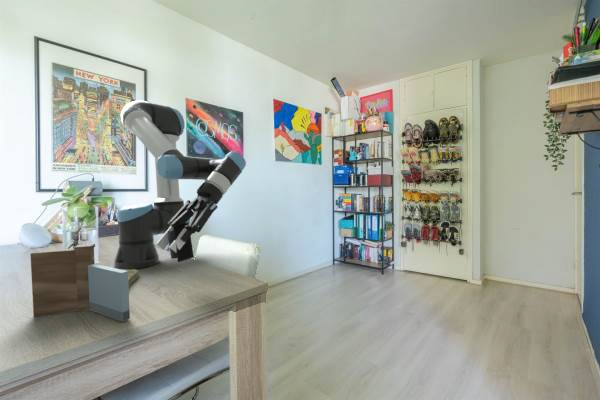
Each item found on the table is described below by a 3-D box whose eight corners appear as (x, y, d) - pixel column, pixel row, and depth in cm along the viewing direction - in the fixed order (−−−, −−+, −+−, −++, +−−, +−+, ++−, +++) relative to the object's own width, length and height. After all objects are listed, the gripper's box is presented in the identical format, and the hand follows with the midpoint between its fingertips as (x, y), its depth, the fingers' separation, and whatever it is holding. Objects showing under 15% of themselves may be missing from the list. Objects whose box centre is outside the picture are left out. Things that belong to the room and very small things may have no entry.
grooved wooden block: (39, 312, 67) (35, 247, 66) (97, 304, 72) (95, 243, 71) (32, 318, 64) (28, 250, 63) (93, 309, 69) (91, 246, 68)
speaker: (198, 257, 80) (194, 221, 80) (178, 262, 76) (173, 225, 76) (187, 255, 85) (183, 222, 85) (168, 260, 81) (163, 225, 81)
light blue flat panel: (89, 309, 68) (87, 265, 67) (96, 307, 69) (94, 263, 69) (122, 321, 62) (121, 273, 61) (129, 318, 63) (128, 271, 63)
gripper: (240, 197, 87) (195, 260, 74) (202, 196, 98) (158, 251, 86) (226, 180, 82) (175, 244, 70) (188, 181, 94) (139, 237, 81)
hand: (166, 248), depth 78 cm, fingers closed on speaker, 6 cm apart
